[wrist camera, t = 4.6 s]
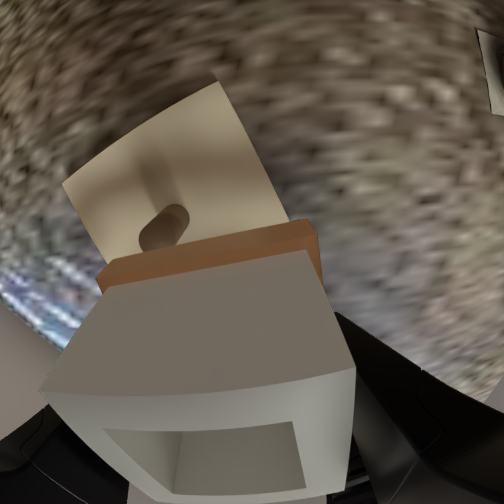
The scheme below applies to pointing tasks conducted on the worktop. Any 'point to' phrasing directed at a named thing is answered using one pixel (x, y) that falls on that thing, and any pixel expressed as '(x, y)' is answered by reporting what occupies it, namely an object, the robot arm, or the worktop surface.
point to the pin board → (175, 181)
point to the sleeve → (214, 371)
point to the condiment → (494, 69)
